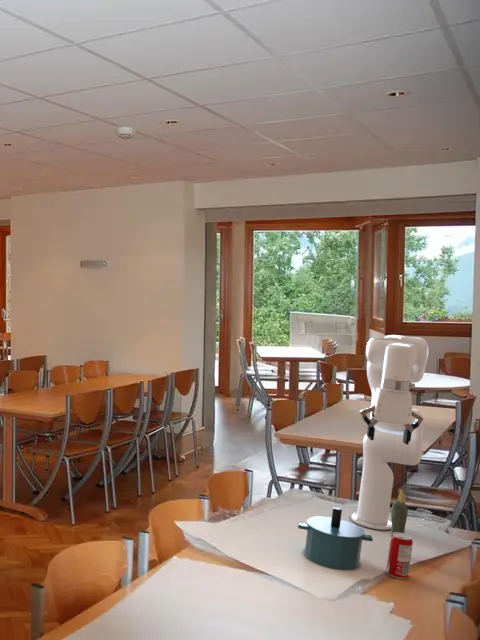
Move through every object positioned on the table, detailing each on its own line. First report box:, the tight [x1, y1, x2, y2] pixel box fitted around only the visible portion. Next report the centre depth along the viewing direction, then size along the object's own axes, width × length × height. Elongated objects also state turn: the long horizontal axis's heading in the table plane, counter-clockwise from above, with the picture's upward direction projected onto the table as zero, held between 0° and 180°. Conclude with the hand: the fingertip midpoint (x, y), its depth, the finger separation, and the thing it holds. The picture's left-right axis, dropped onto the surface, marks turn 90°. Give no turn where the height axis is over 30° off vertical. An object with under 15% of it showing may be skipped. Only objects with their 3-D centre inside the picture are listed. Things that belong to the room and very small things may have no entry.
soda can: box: [385, 532, 414, 580], centre depth 211 cm, size 6×6×12 cm
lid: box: [306, 506, 366, 539], centre depth 219 cm, size 16×16×7 cm
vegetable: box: [390, 488, 409, 537], centre depth 227 cm, size 4×4×20 cm
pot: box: [297, 522, 374, 571], centre depth 220 cm, size 15×20×10 cm
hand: (388, 441), depth 224 cm, fingers open, 9 cm apart
